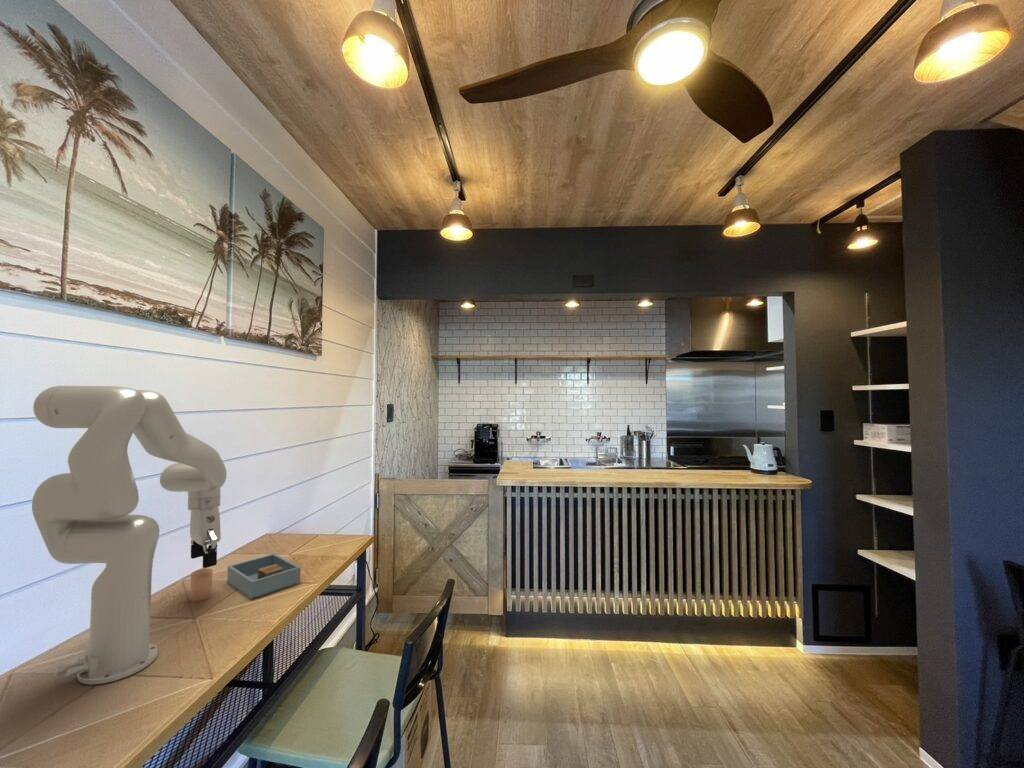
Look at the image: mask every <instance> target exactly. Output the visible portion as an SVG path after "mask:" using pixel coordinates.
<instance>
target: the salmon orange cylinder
mask: <svg viewBox="0 0 1024 768" xmlns="http://www.w3.org/2000/svg"><path fill="white" fill-rule="evenodd" d="M213 573H214V572H213V569H212V568H201V569H198V570H195V571H193V572H191V574H190V585H189V586H190V590H189V601H190V602H193V603H194V602H195V603H196V602H197V603H198V602H203V601H206V600H208V599H209V598H211V597H212V595H213V593H212V591H213Z"/></svg>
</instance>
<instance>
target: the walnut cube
mask: <svg viewBox="0 0 1024 768" xmlns="http://www.w3.org/2000/svg"><path fill="white" fill-rule="evenodd" d="M280 572H283V568H282V567H280V566H278V565H277V564H274V565H270V566H267V567H264V568H260V569H258V579H261V578H264V577H267V576H270V575H273V574H277V573H280Z"/></svg>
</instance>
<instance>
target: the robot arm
mask: <svg viewBox="0 0 1024 768" xmlns="http://www.w3.org/2000/svg"><path fill="white" fill-rule="evenodd" d="M32 409H33V410H32V411H33V413H34V417H36V419H37V420H38V421H39V423H41V424H43V425H44V426H46V427H49V428H51V429H53V428H54V429H87V430H86V431H85V432H84V434H82V436H81V437H80V438H79V439H78V441H77V442H76V443H75V444H74V445H73V446H72V448H71V450H70V451H69V453H68V456H67V464H68V465H67V466H68V468H69V472H66V473H59V474H56V475H52V476H50V477H48V478H47V479H45V480H44V481H43V482H41V483H40V484H39V485H38V486H37V488H36V489H35V491H34V494H33V496H32V500H31V510H32V511H31V512H32V515H33V518H34V521H35V523H36V526H37V528H38V530H39V533H40V535H41V538H42V540H43V543H44V544H45V546H46V549H47V551H48V553H49V555H50V556H51V557H52V558H53V559H54V560H55V561H56V562H58V563H61V564H68V565H69V564H70V565H73V564H74V565H76V564H77V565H78V564H80V565H81V564H83V565H84V564H105V568H104V570H103V571H102V572H100V574H99V575H98V576H97V577H96V579H95V580H94V582H93V584H92V586H91V593H90V619H89V621H90V622H89V641H88V642H89V644H88V647H89V648H87V649H84V654H83V655H81V656H78V657H77V659H75V660H71V661H67V662H64V663H61V664H58V665H55V670H54V671H55V673H54V675H55V677H58V676H62V675H64V674H66V675H65V677H66V678H68V677H71V676H75V675H77V681H78V682H79V683H81V684H85V685H92V686H93V685H102V684H107V683H111V682H116V681H118V680H121V679H124V678H127V677H129V676H132V675H134V674H136V673H138V672H140V671H142V670H143V669H145V668H147V667H149V666H150V665H151V664H152V663H153V662H155V660H156V659H157V657H158V655H159V648H158V646H157V645H156V644H153V643H150V641H151V640H150V639H151V638H150V635H151V608H152V607H151V606H152V578H153V577H152V576H153V566H154V565H153V563H154V558H155V552H156V548H157V545H158V543H159V542H158V540H159V536H160V526H159V524H158V522H157V521H156V520H155V519H154V518H152V517H151V516H147V515H141V514H131V513H133V511H135V509H136V508H137V507H138V503H139V497H140V496H139V490H138V485H137V482H136V480H135V477H134V476H135V475H134V472H133V469H132V466H131V463H130V460H129V456H128V447H129V443H130V441H131V439H132V436H133V435H134V436H135V438H136V439H137V440H138V442H139V443H140V445H141V446H142V448H143V449H144V451H145V452H146V453H148V454H149V455H150V456H153V457H156V458H159V459H162V460H165V461H166V460H167V461H169V462H174V463H173V464H170V465H169V466H167V467H166V468H165V469H163V471H162V472H161V473H160V477H159V483H160V486H161V487H162V488H163V490H166V491H169V492H179V493H181V492H182V493H183V492H187V510H189V511H190V519H189V536H190V538H191V540H190V558H191V560H192V559H197V558H200V557H202V569H208V568H210V567H214V566H216V565H217V562H218V560H217V559H218V542H220V541H221V535H222V534H221V517H220V508H219V507H220V506H221V488H222V487H223V485H224V484H225V482H226V480H227V468H226V466H225V463H224V461H223V459H222V457H221V456H220V454H219V452H218V451H217V450H216V449H215V448H214V447H212V446H210V445H209V444H208V443H206V442H204V441H202V440H201V439H199V438H197V437H195V436H193V435H192V434H189V433H187V432H186V431H185V430H184V428H183V426H182V425H181V422H180V421H179V419H178V418H177V416H176V414H175V412H174V411H173V409H172V407H171V406H170V404H169V402H168V400H167V399H166V398H165V396H164V395H163V394H161V393H159V392H157V391H153V390H145V389H134V388H131V387H127V386H126V387H125V386H117V385H114V386H113V385H56V386H51V387H49V388H46V389H44V390H42V391H41V392H40V393H39V394H38V395H37V397H35V399H34V401H33V407H32Z"/></svg>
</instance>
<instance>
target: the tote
mask: <svg viewBox="0 0 1024 768" xmlns="http://www.w3.org/2000/svg"><path fill="white" fill-rule="evenodd" d="M274 564H277V565H278V566H280V567H282V568H283V572H280V573H277V574H273V575H270V576H267V577H264V578H261V579H258V569H260V568H264V567H267V566H270V565H274ZM301 569H302V568H301V566H299V565H297V564H295V563H294V562H291V561H290V560H287V559H286V558H284V557H282V556H280V555H278V554H276V553H271V554H267V555H264V556H261V557H260V556H259V557H256V558H254V559H250V560H247V561H242V562H238V563H235V564H231V565H228V566H227V579H226V580H227V584H228V585H229V586H231V587H232V588H234V590H237V591H238V593H241V594H242V595H244V596H245V597H246V598H247V599H249V600H250V599H251V600H250V601H253V599H254V600H257V599H259V598H262V597H265V596H268V595H271V594H275V593H277V592H279V591H282V590H283V591H284V590H285V589H289V588H292V587H295V586H298V585H300V584H301Z"/></svg>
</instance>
